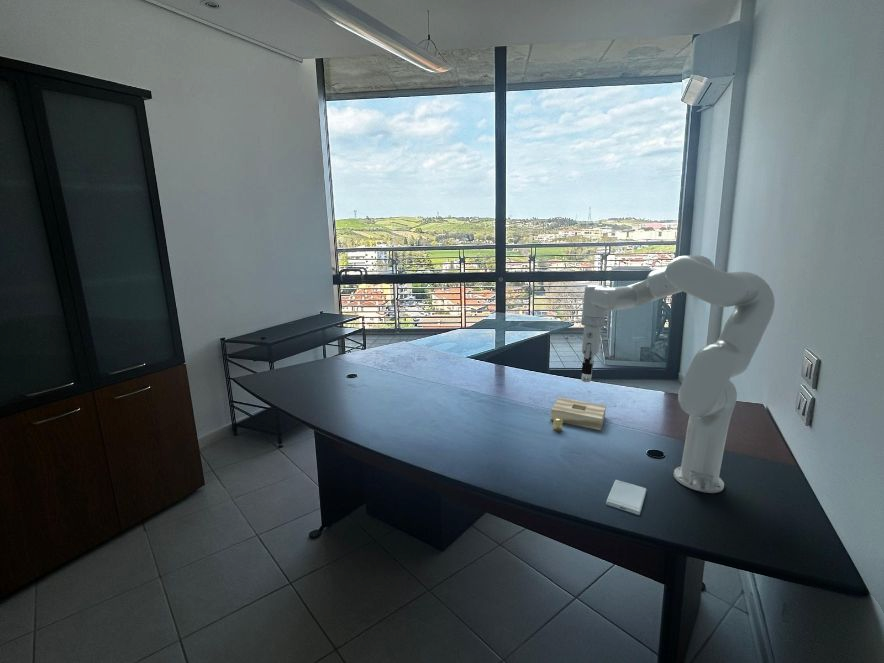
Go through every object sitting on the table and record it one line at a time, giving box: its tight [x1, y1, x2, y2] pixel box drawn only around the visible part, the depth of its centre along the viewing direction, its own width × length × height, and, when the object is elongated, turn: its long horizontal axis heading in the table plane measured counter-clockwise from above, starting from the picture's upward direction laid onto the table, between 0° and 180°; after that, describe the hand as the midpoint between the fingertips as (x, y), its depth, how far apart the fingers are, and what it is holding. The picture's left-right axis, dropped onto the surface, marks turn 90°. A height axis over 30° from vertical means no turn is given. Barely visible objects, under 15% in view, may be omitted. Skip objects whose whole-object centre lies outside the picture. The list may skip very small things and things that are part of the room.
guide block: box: [550, 396, 607, 431], centre depth 167 cm, size 14×18×4 cm
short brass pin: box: [552, 417, 564, 432], centre depth 157 cm, size 3×3×4 cm
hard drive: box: [605, 479, 648, 516], centre depth 117 cm, size 2×8×12 cm
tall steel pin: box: [581, 353, 595, 383], centre depth 154 cm, size 3×3×10 cm
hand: (587, 371), depth 154 cm, fingers closed on tall steel pin, 3 cm apart
